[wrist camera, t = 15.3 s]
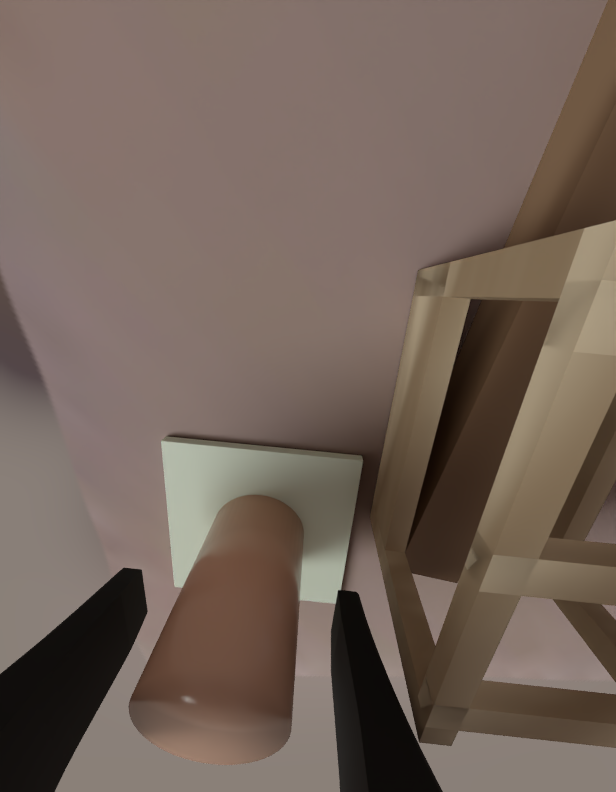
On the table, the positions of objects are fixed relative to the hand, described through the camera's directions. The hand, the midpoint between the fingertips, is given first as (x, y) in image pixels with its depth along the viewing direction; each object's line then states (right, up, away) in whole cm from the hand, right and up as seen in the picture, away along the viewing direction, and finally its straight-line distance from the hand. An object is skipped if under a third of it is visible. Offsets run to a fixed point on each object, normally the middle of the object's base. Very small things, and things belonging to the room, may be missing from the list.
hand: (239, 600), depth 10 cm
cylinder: (0, +1, +3) cm, 3 cm away
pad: (0, +1, +3) cm, 3 cm away
